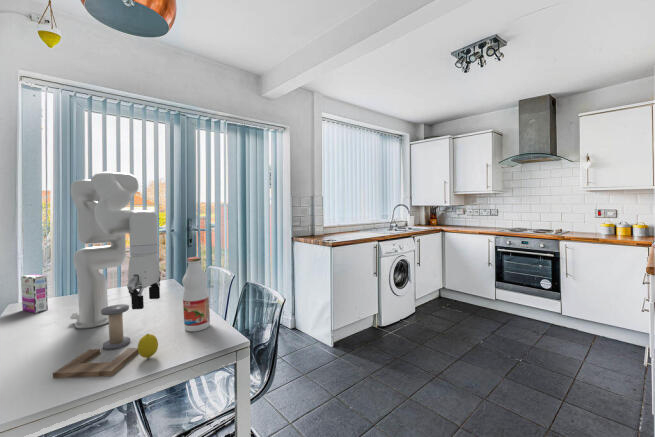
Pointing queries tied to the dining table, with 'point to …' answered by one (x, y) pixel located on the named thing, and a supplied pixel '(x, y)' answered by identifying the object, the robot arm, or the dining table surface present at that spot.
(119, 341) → the spool
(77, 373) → the notched board
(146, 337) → the lemon
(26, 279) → the candy bar box
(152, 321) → the dining table surface
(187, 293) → the fruit juice
